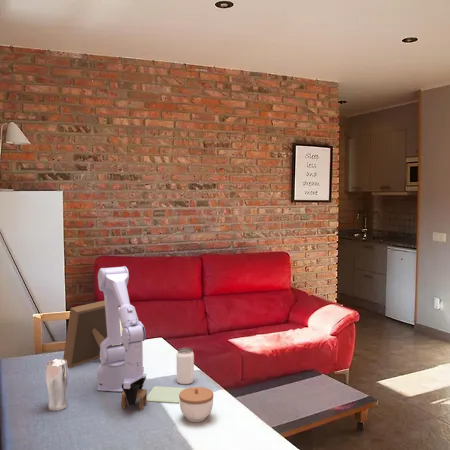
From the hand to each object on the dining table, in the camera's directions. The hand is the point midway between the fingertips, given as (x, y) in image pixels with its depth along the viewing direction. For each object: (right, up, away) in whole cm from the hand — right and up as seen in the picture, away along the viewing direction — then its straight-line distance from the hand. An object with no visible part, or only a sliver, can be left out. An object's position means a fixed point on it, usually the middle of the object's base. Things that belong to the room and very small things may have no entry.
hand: (134, 401), depth 156 cm
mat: (+9, -1, +9) cm, 13 cm away
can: (+15, -1, +21) cm, 26 cm away
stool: (0, -2, 0) cm, 2 cm away
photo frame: (-24, +1, +42) cm, 48 cm away
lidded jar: (+21, -2, -8) cm, 23 cm away
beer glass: (-25, -2, 0) cm, 25 cm away
